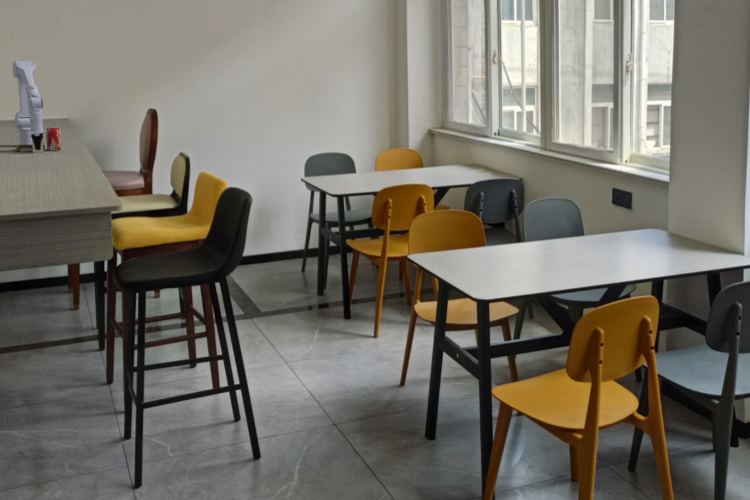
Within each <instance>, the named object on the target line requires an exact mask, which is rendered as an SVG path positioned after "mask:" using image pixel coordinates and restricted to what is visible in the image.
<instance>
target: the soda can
mask: <svg viewBox="0 0 750 500" xmlns="http://www.w3.org/2000/svg"><path fill="white" fill-rule="evenodd" d="M45 131H46V132H45V137H46V138H45V139H46V147H47V150H48V151H50V152H59V151H61V150H62V148H63V147H62V132H61V128H60V126H55V125H54V126H47V127H46V129H45Z"/></svg>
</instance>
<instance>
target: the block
mask: <svg viewBox="0 0 750 500" xmlns="http://www.w3.org/2000/svg"><path fill="white" fill-rule="evenodd" d="M43 145H44V140H43V139H42V141H41V148H40V150H36V149H35V146H34V142H33V140H32V151H31V152H32V153H33V154H35V153H37V154H43V153H44V152H45V151H43Z"/></svg>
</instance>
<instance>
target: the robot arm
mask: <svg viewBox="0 0 750 500" xmlns="http://www.w3.org/2000/svg"><path fill="white" fill-rule="evenodd" d="M35 63H36V62H35V61H23V60H22V61H20V60H14V61H13V62H12V73H13V74H12V75H13V77H14V78H16V79H17V82H18V94H19V107H20V110H19V111H17V112H16V113H15V114H14V116H15V117H14V125H15V128H16V129H17V130H18V136H19V144H18V145H32V140H33V142H34V146H35V149H36V150H40V148H41V141H42V140H43V138H44V133H46V129H44V128H43V127H44V125H43V124H44V123H43V108H44V100H43V96H41V95H40V91H39V89H38V87H37V85H35V80H34V75H35V73H36V70H37V69H36V64H35Z"/></svg>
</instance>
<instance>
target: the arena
mask: <svg viewBox="0 0 750 500" xmlns="http://www.w3.org/2000/svg"><path fill="white" fill-rule="evenodd" d="M45 146H46V145H45V144H43V152H45V151H46V148H45ZM15 147H16V152H33V151H32V145H19V144H16V146H15Z"/></svg>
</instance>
